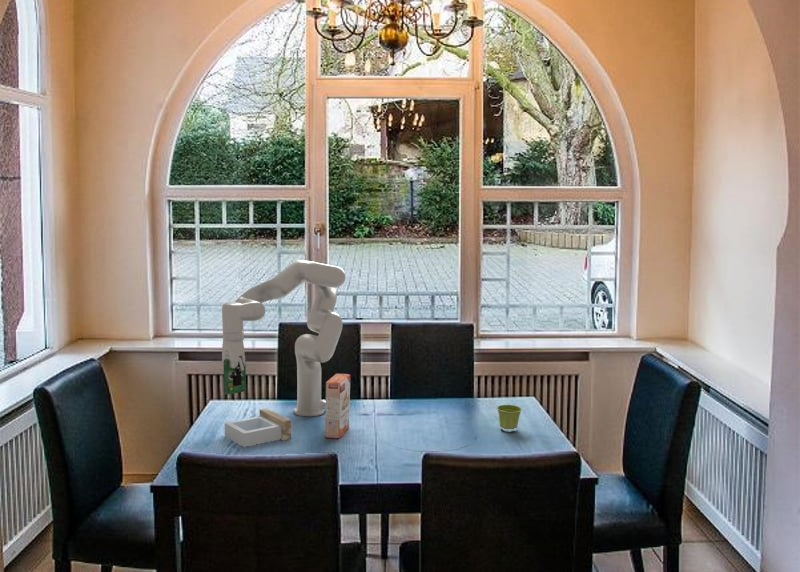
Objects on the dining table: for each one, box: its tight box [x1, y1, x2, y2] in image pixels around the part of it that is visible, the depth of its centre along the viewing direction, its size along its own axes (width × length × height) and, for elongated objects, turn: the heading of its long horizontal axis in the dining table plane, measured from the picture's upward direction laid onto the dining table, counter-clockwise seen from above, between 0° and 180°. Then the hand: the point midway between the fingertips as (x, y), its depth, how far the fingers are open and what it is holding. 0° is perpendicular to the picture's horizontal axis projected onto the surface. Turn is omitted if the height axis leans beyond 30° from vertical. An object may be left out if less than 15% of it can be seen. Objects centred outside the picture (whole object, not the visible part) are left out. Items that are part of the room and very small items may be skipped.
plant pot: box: [496, 404, 523, 429], centre depth 305 cm, size 9×9×9 cm
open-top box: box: [224, 415, 282, 448], centre depth 292 cm, size 15×15×5 cm
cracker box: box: [324, 373, 351, 439], centre depth 298 cm, size 14×6×21 cm, turn 168°
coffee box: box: [223, 359, 247, 396], centre depth 300 cm, size 8×3×13 cm, turn 129°
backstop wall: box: [259, 407, 292, 441], centre depth 298 cm, size 3×18×7 cm, turn 38°
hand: (235, 384), depth 300 cm, fingers closed on coffee box, 3 cm apart
